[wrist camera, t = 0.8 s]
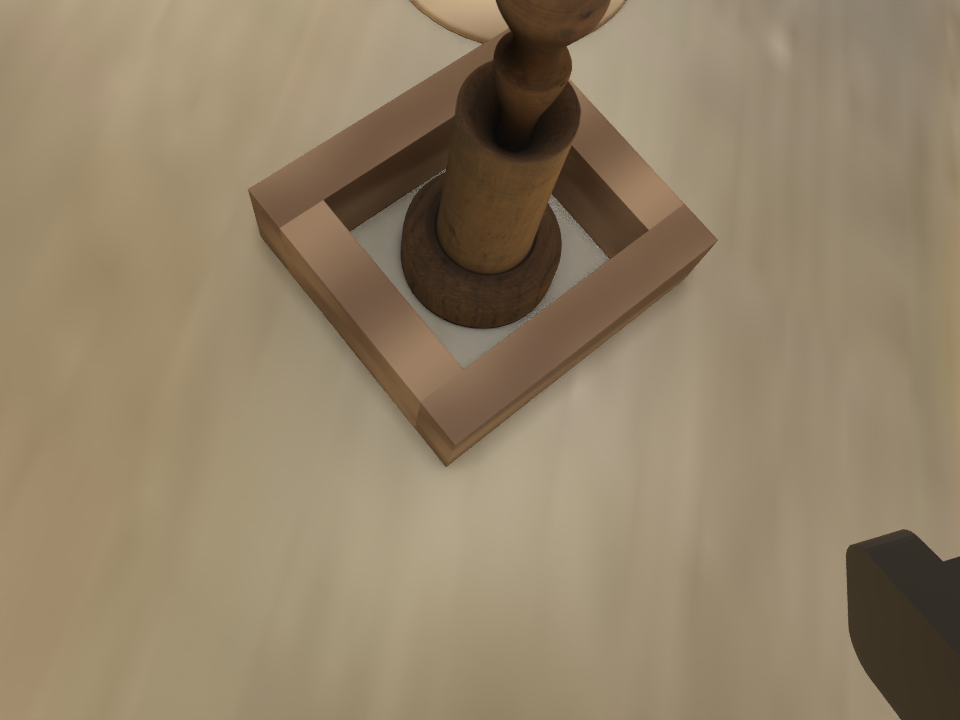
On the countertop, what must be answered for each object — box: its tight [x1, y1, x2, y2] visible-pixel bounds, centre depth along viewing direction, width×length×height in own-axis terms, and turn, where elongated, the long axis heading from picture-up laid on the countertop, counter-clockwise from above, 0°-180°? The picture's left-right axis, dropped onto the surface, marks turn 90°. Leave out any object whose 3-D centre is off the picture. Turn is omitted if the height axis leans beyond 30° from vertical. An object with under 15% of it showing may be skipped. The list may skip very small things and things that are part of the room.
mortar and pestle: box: [401, 0, 611, 328], centre depth 29 cm, size 7×6×18 cm
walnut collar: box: [248, 28, 718, 467], centre depth 35 cm, size 12×14×4 cm
